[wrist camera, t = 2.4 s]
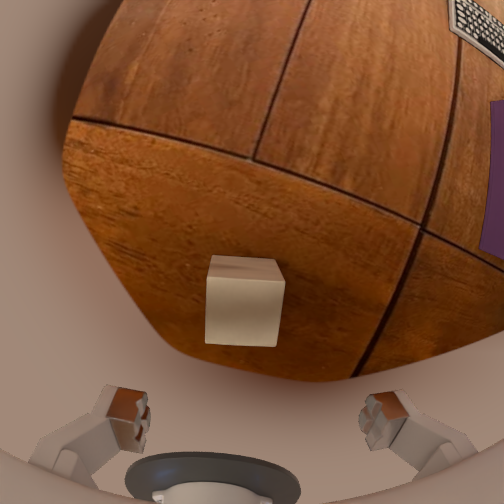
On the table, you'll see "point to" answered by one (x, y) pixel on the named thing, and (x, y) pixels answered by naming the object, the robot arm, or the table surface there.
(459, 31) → the keyboard
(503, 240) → the box
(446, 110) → the table surface
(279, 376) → the table surface
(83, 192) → the table surface
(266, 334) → the block
